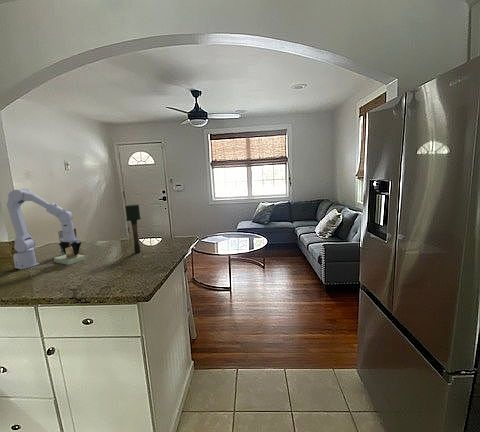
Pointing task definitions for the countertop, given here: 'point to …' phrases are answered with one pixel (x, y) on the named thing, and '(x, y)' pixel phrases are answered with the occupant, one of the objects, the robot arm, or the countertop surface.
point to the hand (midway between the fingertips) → (71, 254)
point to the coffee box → (62, 237)
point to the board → (64, 259)
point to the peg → (70, 253)
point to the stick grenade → (134, 223)
